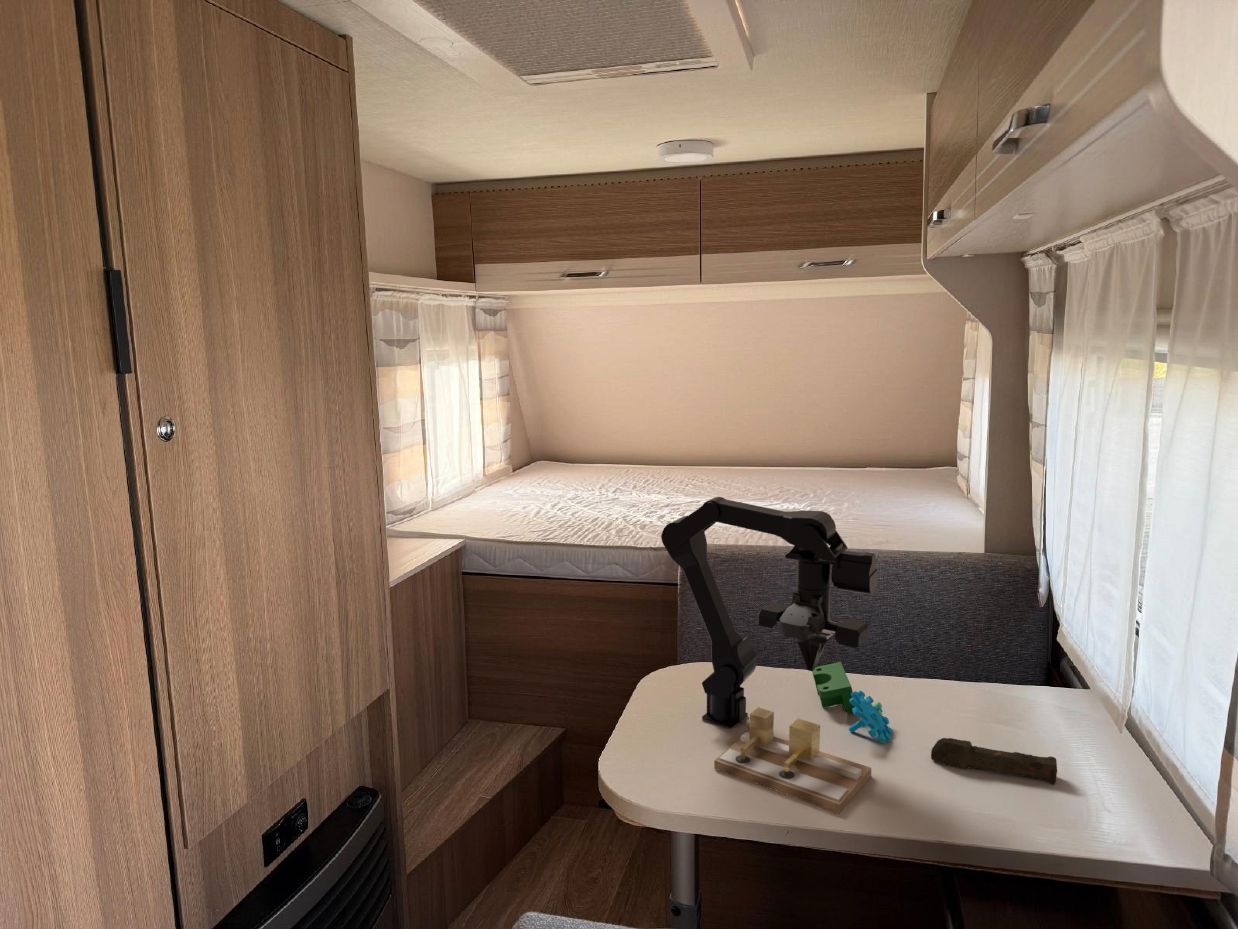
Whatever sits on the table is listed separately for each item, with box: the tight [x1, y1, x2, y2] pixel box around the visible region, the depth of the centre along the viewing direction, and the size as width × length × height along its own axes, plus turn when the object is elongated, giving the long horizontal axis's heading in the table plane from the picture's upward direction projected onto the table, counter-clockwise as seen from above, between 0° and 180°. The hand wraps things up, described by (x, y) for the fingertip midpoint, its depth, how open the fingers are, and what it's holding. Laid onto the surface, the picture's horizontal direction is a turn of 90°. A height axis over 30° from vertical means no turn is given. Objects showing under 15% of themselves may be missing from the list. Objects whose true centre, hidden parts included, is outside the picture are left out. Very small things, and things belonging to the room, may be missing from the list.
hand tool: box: [930, 737, 1058, 786], centre depth 141 cm, size 19×4×5 cm, turn 68°
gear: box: [848, 690, 893, 744], centre depth 154 cm, size 11×6×10 cm
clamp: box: [811, 661, 855, 714], centre depth 166 cm, size 12×6×9 cm, turn 170°
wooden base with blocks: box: [713, 707, 872, 814], centre depth 141 cm, size 22×13×8 cm, turn 53°
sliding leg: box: [784, 718, 821, 775], centre depth 140 cm, size 4×8×6 cm, turn 143°
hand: (811, 670), depth 150 cm, fingers closed
